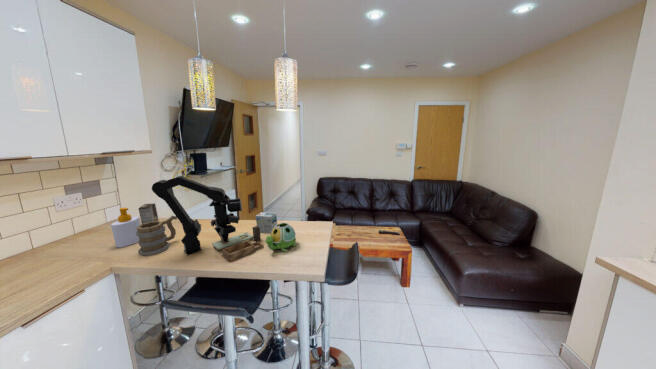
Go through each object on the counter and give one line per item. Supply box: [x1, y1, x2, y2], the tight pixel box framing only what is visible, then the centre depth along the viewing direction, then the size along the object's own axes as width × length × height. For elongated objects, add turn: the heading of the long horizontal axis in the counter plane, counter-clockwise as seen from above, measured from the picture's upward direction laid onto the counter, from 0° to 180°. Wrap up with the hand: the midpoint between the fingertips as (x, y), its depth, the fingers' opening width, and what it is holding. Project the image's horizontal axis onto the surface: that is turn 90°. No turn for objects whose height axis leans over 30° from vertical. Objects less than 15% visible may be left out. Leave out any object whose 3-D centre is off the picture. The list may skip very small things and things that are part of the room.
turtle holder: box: [264, 222, 297, 253], centre depth 123 cm, size 12×18×12 cm
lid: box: [211, 232, 254, 251], centre depth 130 cm, size 19×8×5 cm, turn 134°
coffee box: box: [138, 203, 160, 224], centre depth 152 cm, size 9×6×16 cm
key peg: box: [252, 225, 262, 243], centre depth 132 cm, size 3×3×8 cm
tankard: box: [136, 215, 178, 256], centre depth 128 cm, size 20×13×15 cm, turn 147°
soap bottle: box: [110, 207, 142, 248], centre depth 134 cm, size 13×8×20 cm, turn 161°
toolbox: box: [221, 240, 265, 263], centre depth 121 cm, size 18×8×4 cm, turn 134°
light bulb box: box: [255, 211, 278, 234], centre depth 145 cm, size 11×7×11 cm, turn 74°
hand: (224, 241), depth 127 cm, fingers closed on lid, 3 cm apart
